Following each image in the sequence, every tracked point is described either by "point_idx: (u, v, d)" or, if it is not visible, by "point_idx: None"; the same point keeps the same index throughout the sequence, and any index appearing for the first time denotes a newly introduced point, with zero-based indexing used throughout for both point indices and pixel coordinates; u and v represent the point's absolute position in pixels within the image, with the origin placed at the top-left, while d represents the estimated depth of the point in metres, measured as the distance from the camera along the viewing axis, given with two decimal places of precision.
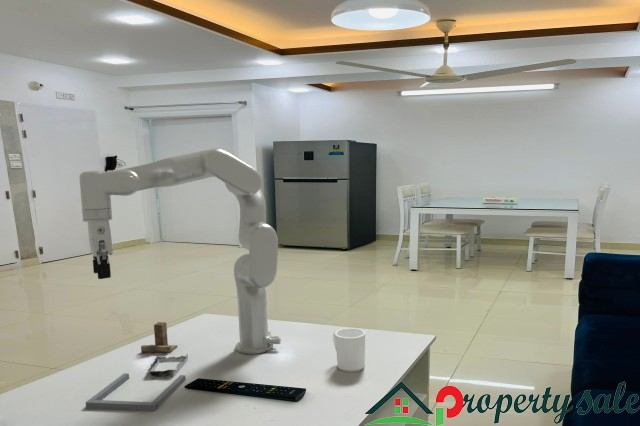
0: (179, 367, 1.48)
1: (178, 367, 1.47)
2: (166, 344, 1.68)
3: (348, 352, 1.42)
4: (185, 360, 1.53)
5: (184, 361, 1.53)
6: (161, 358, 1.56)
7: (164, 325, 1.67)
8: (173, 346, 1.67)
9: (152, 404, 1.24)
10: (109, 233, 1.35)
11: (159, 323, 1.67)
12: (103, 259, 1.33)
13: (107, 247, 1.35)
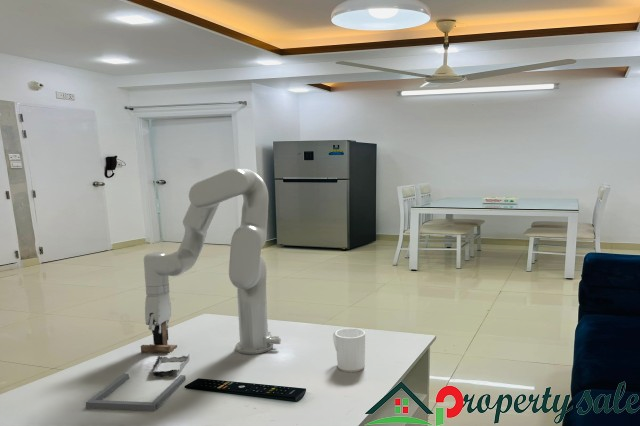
0: (182, 367, 1.48)
1: (181, 367, 1.47)
2: (166, 344, 1.68)
3: (348, 352, 1.42)
4: (187, 360, 1.53)
5: (186, 361, 1.53)
6: (162, 358, 1.56)
7: (164, 325, 1.67)
8: (173, 346, 1.67)
9: (152, 404, 1.24)
10: None
11: None
12: None
13: None
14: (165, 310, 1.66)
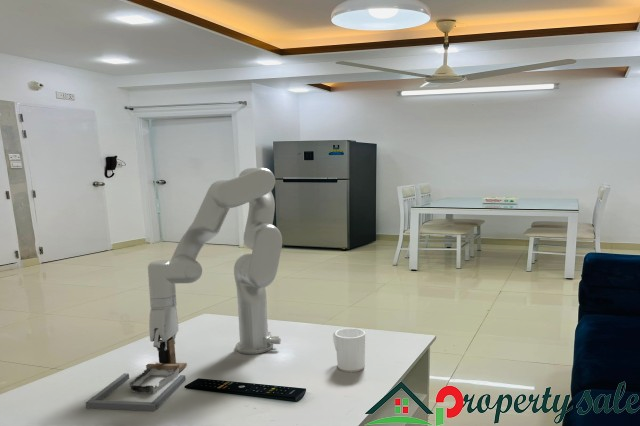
0: (163, 383, 1.37)
1: (161, 382, 1.36)
2: (174, 362, 1.51)
3: (348, 352, 1.42)
4: (173, 374, 1.42)
5: (172, 376, 1.42)
6: (152, 370, 1.46)
7: (171, 341, 1.50)
8: (182, 364, 1.50)
9: (152, 404, 1.24)
10: None
11: None
12: None
13: None
14: (172, 325, 1.49)
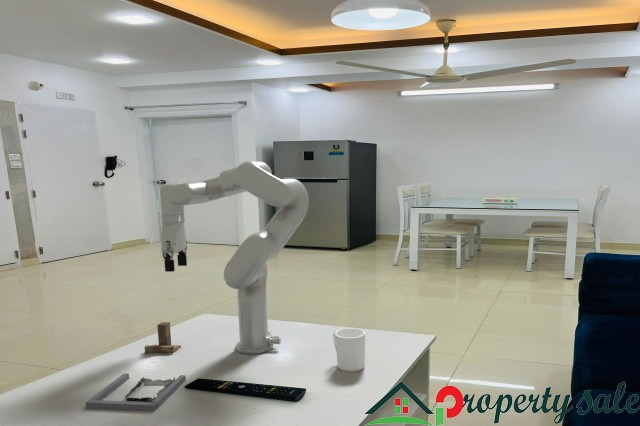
0: None
1: (159, 393, 1.30)
2: (169, 344, 1.68)
3: (348, 352, 1.42)
4: (170, 384, 1.36)
5: None
6: (147, 380, 1.39)
7: (168, 325, 1.67)
8: (177, 346, 1.67)
9: (152, 404, 1.24)
10: None
11: (163, 323, 1.67)
12: None
13: None
14: (180, 240, 1.70)
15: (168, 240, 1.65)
